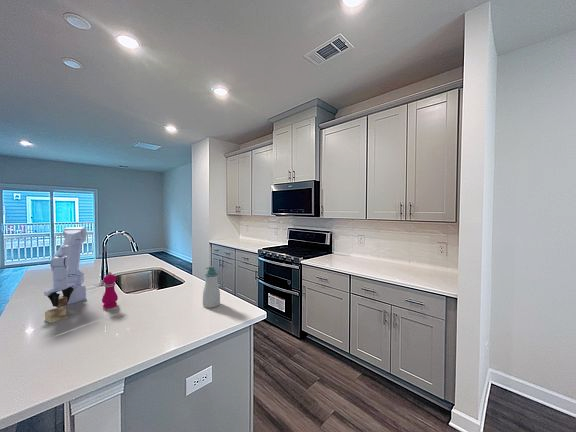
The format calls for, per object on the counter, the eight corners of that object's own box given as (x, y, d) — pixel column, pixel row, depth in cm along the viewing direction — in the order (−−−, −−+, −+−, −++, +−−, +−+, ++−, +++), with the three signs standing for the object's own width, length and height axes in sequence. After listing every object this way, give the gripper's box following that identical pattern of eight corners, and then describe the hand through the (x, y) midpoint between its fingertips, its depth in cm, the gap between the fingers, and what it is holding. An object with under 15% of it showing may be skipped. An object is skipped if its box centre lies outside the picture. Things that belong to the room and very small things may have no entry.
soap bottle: (198, 306, 142) (199, 267, 141) (211, 300, 150) (211, 263, 149) (211, 309, 137) (211, 269, 136) (223, 303, 146) (223, 266, 145)
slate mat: (68, 308, 135) (68, 307, 135) (80, 313, 130) (80, 312, 130) (37, 317, 124) (37, 316, 124) (50, 323, 118) (50, 322, 118)
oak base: (60, 314, 127) (60, 306, 127) (66, 316, 124) (66, 309, 124) (45, 319, 122) (44, 311, 121) (50, 321, 119) (50, 313, 119)
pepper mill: (109, 310, 134) (109, 274, 134) (98, 308, 136) (98, 273, 135) (120, 305, 141) (120, 270, 141) (110, 303, 143) (110, 269, 142)
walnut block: (63, 303, 133) (63, 295, 133) (67, 305, 132) (67, 296, 131) (54, 306, 130) (54, 298, 129) (58, 307, 128) (57, 299, 128)
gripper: (67, 274, 138) (67, 298, 138) (38, 282, 123) (39, 309, 124) (78, 275, 137) (79, 299, 137) (51, 283, 122) (51, 310, 123)
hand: (60, 304), depth 131 cm, fingers closed on walnut block, 5 cm apart
